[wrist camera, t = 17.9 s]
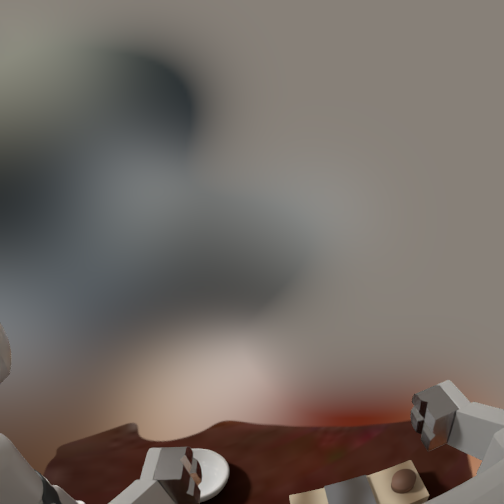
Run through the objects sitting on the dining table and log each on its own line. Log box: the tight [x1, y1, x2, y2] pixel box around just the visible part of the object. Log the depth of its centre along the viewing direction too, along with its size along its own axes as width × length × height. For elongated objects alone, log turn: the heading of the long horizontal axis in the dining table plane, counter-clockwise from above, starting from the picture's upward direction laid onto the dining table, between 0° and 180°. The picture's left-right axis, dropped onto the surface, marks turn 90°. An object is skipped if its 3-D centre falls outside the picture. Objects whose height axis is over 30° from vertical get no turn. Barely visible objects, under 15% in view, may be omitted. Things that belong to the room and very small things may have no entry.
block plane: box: [289, 460, 429, 504], centre depth 29 cm, size 17×7×6 cm, turn 92°
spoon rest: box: [191, 449, 229, 502], centre depth 35 cm, size 24×12×7 cm, turn 139°
